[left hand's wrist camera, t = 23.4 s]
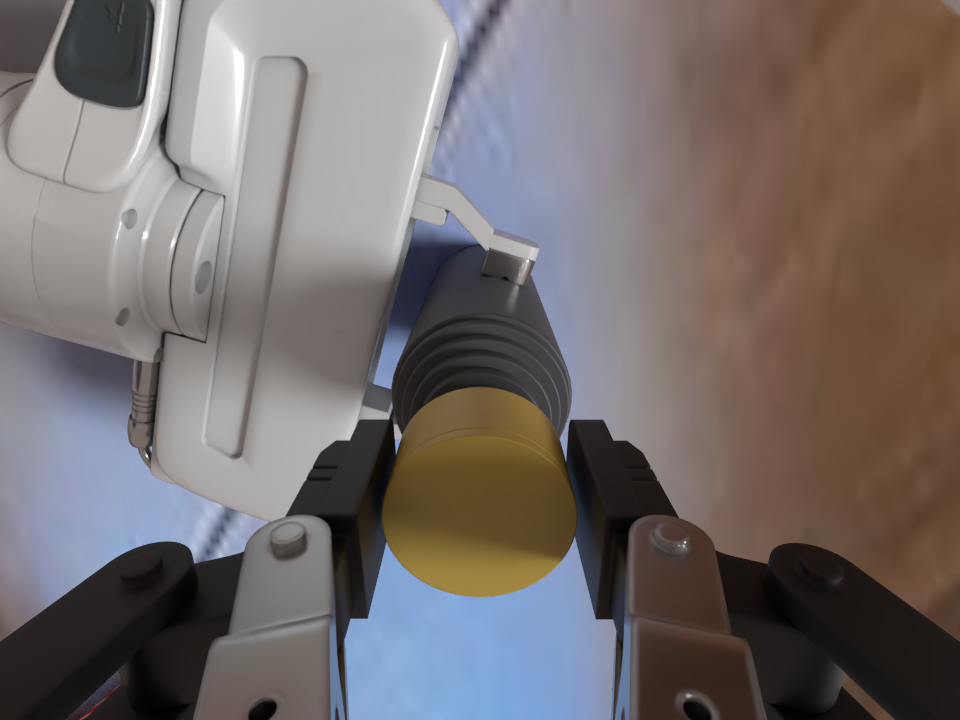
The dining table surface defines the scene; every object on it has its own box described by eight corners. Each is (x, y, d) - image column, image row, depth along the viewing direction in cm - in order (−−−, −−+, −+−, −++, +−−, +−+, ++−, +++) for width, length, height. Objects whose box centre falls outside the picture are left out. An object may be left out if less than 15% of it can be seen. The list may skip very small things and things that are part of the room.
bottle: (424, 251, 26) (328, 395, 10) (531, 239, 25) (604, 369, 10) (438, 351, 27) (377, 603, 12) (538, 341, 27) (609, 585, 12)
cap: (496, 353, 11) (499, 397, 9) (594, 474, 12) (615, 537, 10) (364, 447, 12) (339, 506, 10) (466, 552, 13) (462, 625, 11)
